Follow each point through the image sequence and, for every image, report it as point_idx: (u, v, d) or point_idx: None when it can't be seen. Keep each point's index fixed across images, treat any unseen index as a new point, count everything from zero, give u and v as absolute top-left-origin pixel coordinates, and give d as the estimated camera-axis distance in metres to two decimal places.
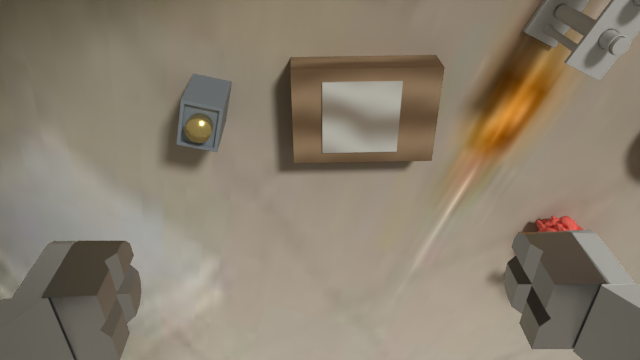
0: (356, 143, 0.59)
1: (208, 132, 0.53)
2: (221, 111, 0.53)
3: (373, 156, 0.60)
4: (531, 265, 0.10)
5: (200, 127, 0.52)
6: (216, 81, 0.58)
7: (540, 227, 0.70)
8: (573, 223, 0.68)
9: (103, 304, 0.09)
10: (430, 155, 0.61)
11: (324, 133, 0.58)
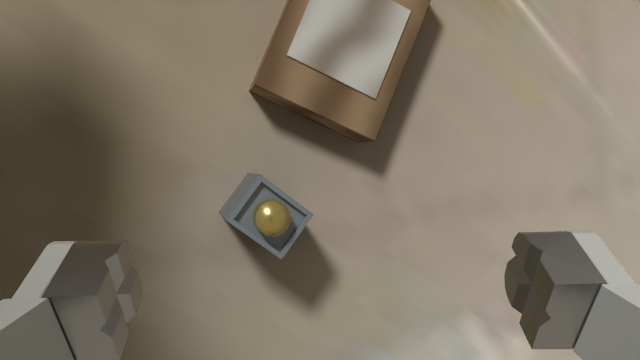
0: (380, 52, 0.45)
1: (281, 206, 0.39)
2: (263, 179, 0.39)
3: (406, 41, 0.46)
4: (531, 265, 0.10)
5: (269, 212, 0.39)
6: (237, 188, 0.46)
7: None
8: None
9: (104, 304, 0.09)
10: None
11: (351, 83, 0.45)
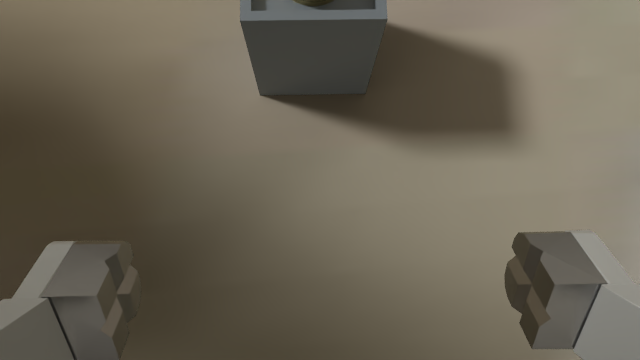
0: None
1: None
2: None
3: None
4: (531, 265, 0.10)
5: None
6: None
7: None
8: None
9: (104, 304, 0.09)
10: None
11: None
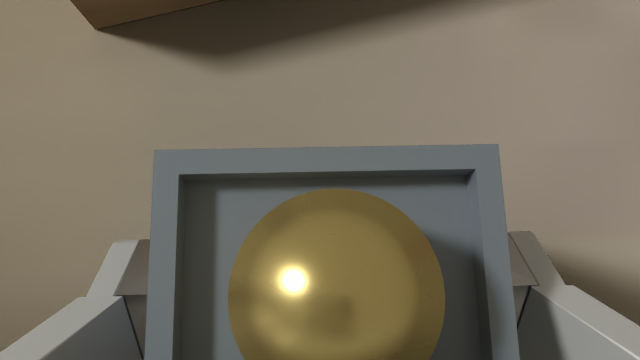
0: None
1: (327, 207, 0.07)
2: (179, 160, 0.08)
3: None
4: None
5: (294, 278, 0.06)
6: None
7: None
8: None
9: None
10: None
11: None
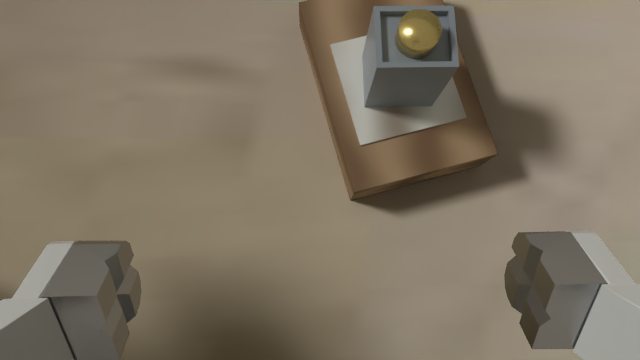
0: None
1: (419, 12, 0.32)
2: (379, 8, 0.34)
3: None
4: (531, 265, 0.10)
5: (412, 24, 0.32)
6: (364, 71, 0.40)
7: None
8: None
9: (104, 304, 0.09)
10: None
11: (434, 122, 0.40)
